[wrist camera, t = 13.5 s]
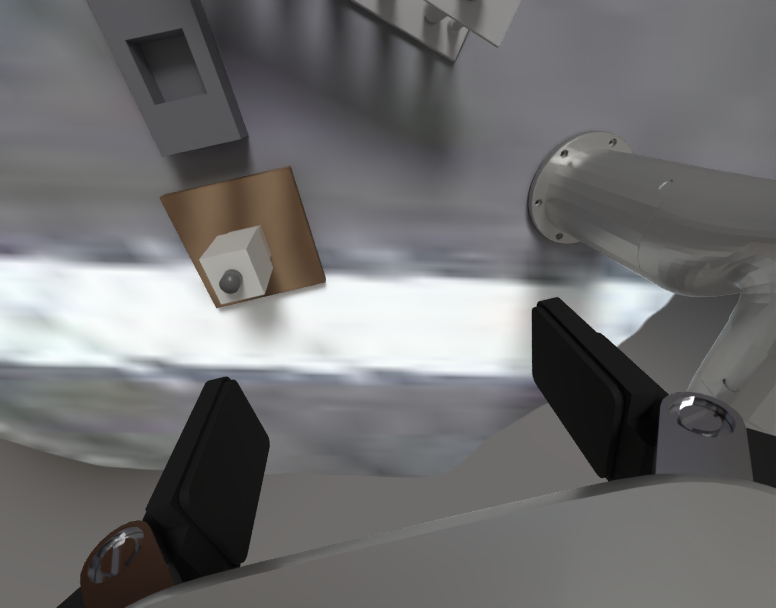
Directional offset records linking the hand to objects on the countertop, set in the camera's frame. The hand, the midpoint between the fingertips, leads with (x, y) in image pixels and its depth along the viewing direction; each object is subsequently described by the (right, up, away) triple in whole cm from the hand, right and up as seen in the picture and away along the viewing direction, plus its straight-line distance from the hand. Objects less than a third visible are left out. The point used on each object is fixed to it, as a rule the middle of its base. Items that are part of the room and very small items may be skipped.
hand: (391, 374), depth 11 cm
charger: (-15, +9, +28) cm, 33 cm away
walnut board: (-15, +9, +29) cm, 34 cm away
